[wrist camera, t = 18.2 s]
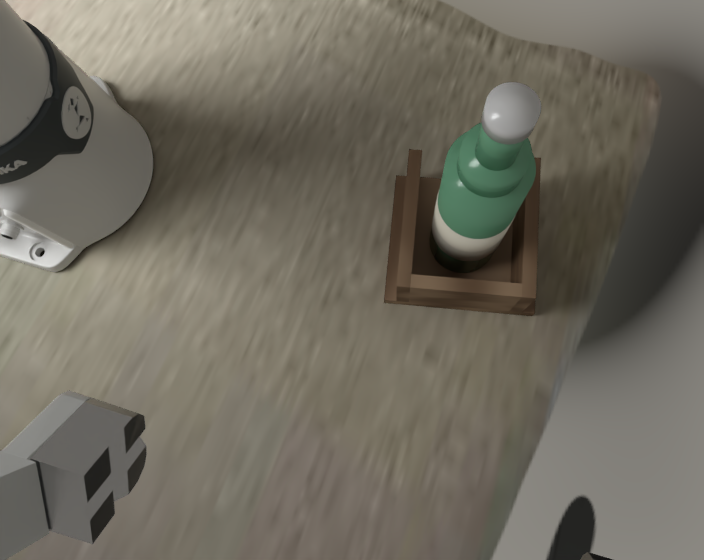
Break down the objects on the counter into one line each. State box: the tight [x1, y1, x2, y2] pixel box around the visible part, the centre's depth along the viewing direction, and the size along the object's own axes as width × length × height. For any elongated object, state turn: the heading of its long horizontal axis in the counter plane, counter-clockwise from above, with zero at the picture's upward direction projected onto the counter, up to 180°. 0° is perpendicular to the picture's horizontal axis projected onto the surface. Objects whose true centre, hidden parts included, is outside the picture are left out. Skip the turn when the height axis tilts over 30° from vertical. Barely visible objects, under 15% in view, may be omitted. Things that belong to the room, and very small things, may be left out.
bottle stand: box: [384, 149, 541, 316], centre depth 48 cm, size 12×11×6 cm
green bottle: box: [429, 82, 541, 273], centre depth 40 cm, size 6×6×21 cm
